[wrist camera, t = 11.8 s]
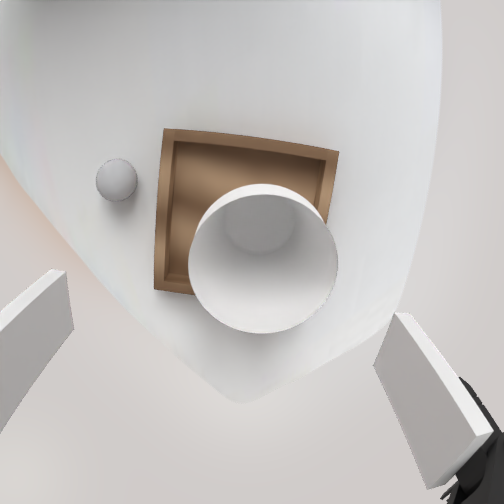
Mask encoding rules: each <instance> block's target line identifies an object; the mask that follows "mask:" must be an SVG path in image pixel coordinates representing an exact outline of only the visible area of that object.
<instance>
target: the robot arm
mask: <svg viewBox="0 0 504 504" xmlns="http://www.w3.org/2000/svg"><path fill="white" fill-rule="evenodd" d="M73 330H74V325H73V319H72V313H71V307H70V300H69V293H68V286H67V277H66V271H61V270H56V269H50V270H49V271H48V272H46V273H45V274H44V275H43V276H41V277H40V278H39V279H38V280H37V281H35V282H34V283H33V284H32V285H30V286H29V287H28V288H27V289H26V290H24V291H23V292H22V293H21V294H20V295H19V296H17V297H16V298H15V299H14V300H13V301H11V302H10V303H9V304H8V305H7V306H6V307H5V308H3V309H2V310H1V311H0V433H1V431H2V430H3V428H4V427H5V425H6V424H7V422H8V420H9V419H10V417H11V416H12V414H13V413H14V411H15V410H16V408H17V407H18V405H19V404H20V402H21V401H22V399H23V398H24V396H25V395H26V393H27V392H28V390H29V389H30V387H31V386H32V385H33V383H34V382H35V381H36V379H37V378H38V376H39V375H40V374H41V372H42V371H43V369H44V368H45V367H46V365H47V364H48V362H49V361H50V360H51V358H52V357H53V356H54V355H55V353H56V352H57V351H58V349H59V348H60V347H61V345H62V344H63V343H64V341H65V340H66V339H67V337H68V336H69V335H70V334H71V332H72V331H73ZM373 366H374V368H375V370H376V373H377V375H378V377H379V379H380V381H381V383H382V385H383V388H384V390H385V392H386V394H387V396H388V398H389V401H390V403H391V405H392V407H393V409H394V412H395V414H396V416H397V418H398V421H399V423H400V425H401V428H402V430H403V432H404V435H405V437H406V439H407V442H408V444H409V446H410V449H411V451H412V453H413V456H414V458H415V461H416V463H417V466H418V468H419V471H420V473H421V476H422V478H423V481H424V483H425V486H426V488H427V490H428V489H431V488H435V487H438V486H441V485H445V484H446V483H447V482H448V481H449V480H450V479H451V478H452V477H453V476H454V475H455V474H456V477H457V479H458V481H457V482H456V483H455V484H454V485H453V486H452V487H450V488H449V489H448V490H447V491H446V492H445V493H444V494H443V495H442V497H441V498H440V499H442V500H443V499H444V498H445V497H446V496H448V495H449V494H450V493H451V494H450V497H449V499H447V502H448V503H447V504H504V432H503V433H502V432H501V430H500V429H499V427H498V426H497V424H496V423H495V421H494V419H493V418H492V417H491V415H490V413H489V412H488V410H487V409H486V408H485V406H484V405H482V402H481V400H480V399H479V397H477V394H476V393H475V392H474V390H473V389H472V387H471V386H470V385H469V384H468V383H467V382H466V381H464V380H463V379H462V378H461V377H457V375H456V374H455V372H454V371H453V370H452V368H451V367H450V365H449V364H448V363H447V361H446V360H445V359H444V357H443V356H442V355H441V354H440V352H439V351H438V349H437V348H436V347H435V345H434V344H433V343H432V341H431V340H430V339H429V337H428V336H427V335H426V333H425V332H424V331H423V330H422V328H421V327H420V326H419V324H418V323H417V322H416V321H415V319H414V318H413V317H412V316H411V314H410V313H398V312H394V315H393V317H392V320H391V323H390V325H389V328H388V331H387V333H386V336H385V338H384V341H383V343H382V346H381V348H380V350H379V353H378V356H377V358H376V360H375V362H374V365H373Z"/></svg>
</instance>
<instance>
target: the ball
mask: <svg viewBox="0 0 504 504" xmlns="http://www.w3.org/2000/svg"><path fill="white" fill-rule="evenodd" d="M136 184H137V174H136V171H135V169H134V167H133V166H132V165H131V164H130V163H129V162H127V161H125V160H122V159H113V160H110V161H108V162H106V163H105V164H104V165H102V167H101V168H100V169H99V171H98V173H97V177H96V186H97V189H98V191H99V193H100V194H101V195H102V196H103V197H104V198H105V199H107V200H110V201H122V200H124V199H126V198H128V197H129V196H130V195H131V194H132V193H133V191H134V190H135V188H136Z"/></svg>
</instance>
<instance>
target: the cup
mask: <svg viewBox="0 0 504 504" xmlns="http://www.w3.org/2000/svg"><path fill="white" fill-rule="evenodd" d="M337 270H338V256H337V250H336V246H335V242H334V240H333V237H332V235H331V233H330V231H329V229H328V228H327V226H326V225H325V223H324V221H323V219H322V217H321V216H320V214H319V213H318V211H317V210H316V209H315V207H314V206H313V205H312V204H311V203H310V202H309V201H307V200H306V199H305V198H304V197H302V196H301V195H299V194H298V193H296V192H294V191H292V190H290V189H287V188H284V187H281V186H277V185H272V184H252V185H247V186H243V187H240V188H237V189H234V190H232V191H230V192H228V193H227V194H225V195H223V196H222V197H221V198H219V199H218V200H217V201H216V202H214V203H213V204H212V205H211V206H210V207H209V209H208V210H207V211H206V212H205V214H204V215H203V217H202V219H201V220H200V222H199V225H198V227H197V230H196V233H195V236H194V239H193V241H192V244H191V248H190V252H189V259H188V271H189V278H190V282H191V285H192V288H193V291H194V293H195V295H196V297H197V298H198V300H199V302H200V303H201V304H202V306H203V307H204V308H205V309H206V310H207V311H208V312H209V313H210V314H211V315H212V316H213V317H214V318H216V319H217V320H219V321H220V322H222V323H223V324H225V325H227V326H229V327H232V328H234V329H237V330H240V331H244V332H249V333H262V334H263V333H274V332H280V331H284V330H287V329H290V328H292V327H295V326H297V325H299V324H301V323H302V322H304V321H306V320H307V319H308V318H310V317H311V316H312V315H314V314H315V313H316V312H317V311H318V310H319V309H320V308H321V306H322V305H323V304H324V303H325V301H326V300H327V298H328V297H329V295H330V293H331V291H332V289H333V286H334V283H335V280H336V276H337Z"/></svg>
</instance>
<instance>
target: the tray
mask: <svg viewBox="0 0 504 504" xmlns="http://www.w3.org/2000/svg"><path fill="white" fill-rule="evenodd" d="M338 156H339V151H335V150H330V149H325V148H319V147H314V146H308V145H303V144H297V143H291V142H285V141H279V140H272V139H265V138H258V137H250V136H243V135H234V134H225V133H216V132H206V131H194V130H181V129H166V128H164V132H163V141H162V150H161V160H160V170H159V182H158V195H157V210H156V229H155V255H154V289H156V290H163V291H170V292H176V293H183V294H190V295H195V293H194V291H193V288H192V285H191V282H190V278H189V271H188V259H189V252H190V248H191V244H192V241H193V239H194V236H195V233H196V230H197V227H198V225H199V222H200V220H201V219H202V217H203V215H204V214H205V212H206V211H207V210H208V209H209V207H210V206H211V205H212V204H213V203H214V202H216V201H217V200H218V199H219V198H221V197H222V196H223V195H225V194H227V193H228V192H230V191H232V190H234V189H237V188H240V187H243V186H247V185H252V184H272V185H277V186H281V187H284V188H287V189H290V190H292V191H294V192H296V193H298V194H299V195H301V196H302V197H304V198H305V199H306V200H307V201H309V202H310V203H311V204H312V205H313V206H314V207H315V209H316V210H317V211H318V213H319V214H320V216H321V217H322V219H323V221H324V223H325V225H326V223H327V217H328V212H329V207H330V202H331V196H332V191H333V185H334V180H335V174H336V168H337V162H338Z"/></svg>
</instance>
